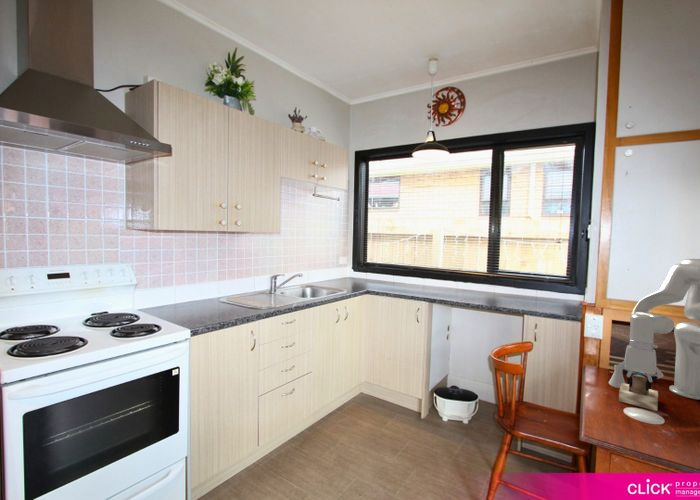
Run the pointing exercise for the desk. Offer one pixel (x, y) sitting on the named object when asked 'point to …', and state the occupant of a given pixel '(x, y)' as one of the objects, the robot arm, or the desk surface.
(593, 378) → the desk surface
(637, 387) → the walnut peg
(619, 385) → the flask
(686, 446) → the desk surface
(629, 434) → the desk surface
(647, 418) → the white round dome
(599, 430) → the desk surface
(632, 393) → the birch holder
